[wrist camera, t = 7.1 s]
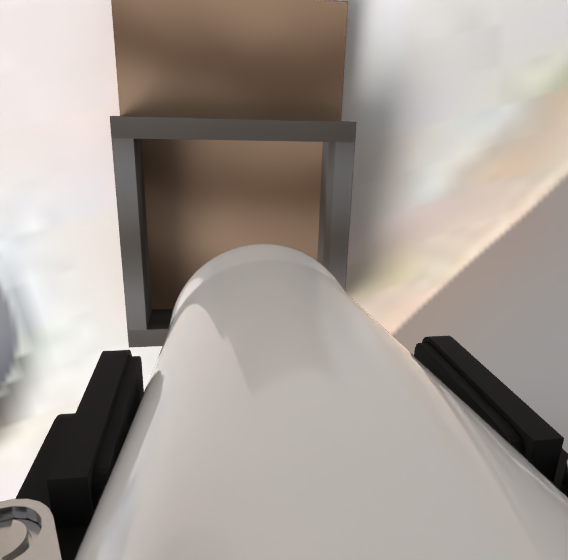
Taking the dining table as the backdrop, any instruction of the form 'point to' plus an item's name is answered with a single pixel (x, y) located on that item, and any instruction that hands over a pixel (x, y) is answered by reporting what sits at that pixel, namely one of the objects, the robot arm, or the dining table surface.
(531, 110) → the dining table surface
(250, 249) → the white cup
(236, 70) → the open box
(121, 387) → the robot arm
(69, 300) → the dining table surface
